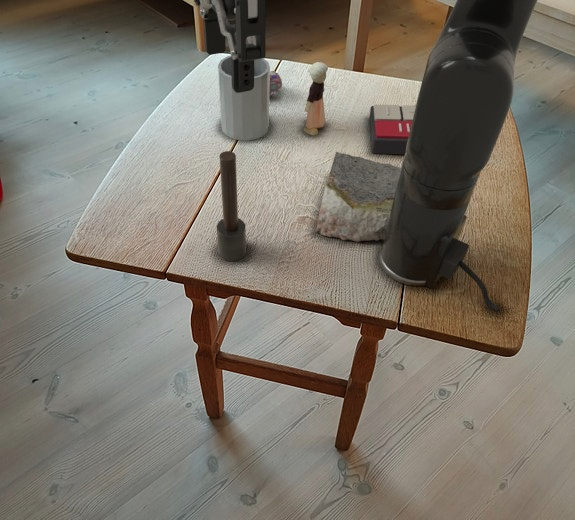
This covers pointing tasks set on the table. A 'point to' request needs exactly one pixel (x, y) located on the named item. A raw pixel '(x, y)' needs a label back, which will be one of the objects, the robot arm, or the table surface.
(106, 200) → the table surface
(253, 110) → the cup
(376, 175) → the geological specimen
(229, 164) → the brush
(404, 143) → the black red box
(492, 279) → the table surface
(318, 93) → the grandmother figurine
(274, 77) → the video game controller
